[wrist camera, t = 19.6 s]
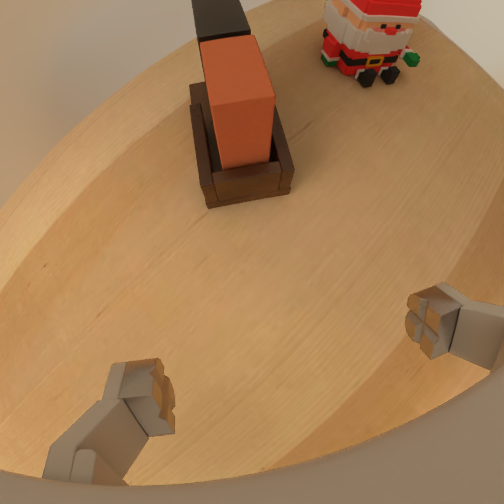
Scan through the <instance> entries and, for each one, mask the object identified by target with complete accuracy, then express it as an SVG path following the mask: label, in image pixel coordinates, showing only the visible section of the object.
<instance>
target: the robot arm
mask: <svg viewBox="0 0 504 504" xmlns="http://www.w3.org/2000/svg"><path fill="white" fill-rule="evenodd" d="M407 306H408V308H409V309H410V310H409V312H408V313H407V315H406V317H405V328H406V332H407V334H408V336H409V337H410V338H411V340H412V341H414V342H417V343H420V349H421V350H422V351H423V352H424V354H425V355H426V356H427V357H428V358H429V359H430V360H432V359H434V358H436V357H438V356H441V355H443V354H445V353H447V352H449V353H451V354H453V355H455V356H458V357H460V358H462V359H465V360H467V361H469V362H472V363H474V364H476V365H479V366H481V367H483V368H486V369H488V370H490V373H489V375H488V376H487V377H485V378H484V379H482V380H481V381H479V382H478V383H476V384H475V385H473V386H472V387H470V388H468V389H467V390H465V391H464V392H462V393H460V394H459V395H457V396H455V397H454V398H452V399H450V400H449V401H447V402H445V403H443V404H442V405H440V406H438V407H436V408H434V409H432V410H431V411H429V412H427V413H425V414H423V415H421V416H419V417H417V418H415V419H413V420H411V421H409V422H407V423H405V424H403V425H401V426H398V427H396V428H394V429H392V430H390V431H387V432H385V433H383V434H380V435H378V436H376V437H373V438H371V439H368V440H366V441H363V442H361V443H358V444H356V445H353V446H350V447H347V448H345V449H342V450H339V451H336V452H333V453H330V454H327V455H324V456H321V457H317V458H314V459H311V460H307V461H304V462H300V463H297V464H293V465H289V466H285V467H281V468H277V469H273V470H268V471H264V472H259V473H254V474H249V475H244V476H238V477H232V478H226V479H220V480H212V481H204V482H195V483H185V484H172V485H151V486H129V485H128V484H127V483H126V482H125V481H124V480H123V477H124V476H125V474H126V473H127V471H128V470H129V468H130V467H131V465H132V464H133V462H134V461H135V459H136V458H137V456H138V455H139V453H140V451H141V450H142V448H143V447H144V445H145V444H146V442H147V441H148V439H149V438H148V437H154V436H162V435H170V434H175V416H174V414H173V412H172V409H173V408H174V407H175V395H174V390H173V387H172V383H171V381H170V379H169V378H168V377H167V376H165V375H164V366H163V364H162V362H161V359H159V358H153V359H145V360H137V361H128V362H121V363H114V364H113V365H112V366H111V368H110V372H109V375H108V379H107V383H106V386H105V390H104V394H103V398H102V400H101V401H97V402H96V403H95V404H94V405H93V406H92V407H91V408H90V409H89V410H88V411H87V412H85V413H84V414H83V415H82V416H81V417H80V418H79V419H78V420H77V421H76V422H75V423H74V424H73V425H72V426H71V427H70V428H69V429H68V430H67V431H66V432H65V433H64V434H63V435H62V436H61V437H60V438H58V439H57V440H56V441H55V442H54V443H53V444H52V445H51V446H50V450H49V453H48V457H47V460H46V464H45V468H44V472H43V476H42V478H37V477H32V476H27V475H22V474H17V473H13V472H9V471H5V470H1V469H0V504H504V307H503V306H499V305H494V304H490V303H485V302H481V301H476V300H475V301H471V300H470V299H469V298H467V297H466V296H464V295H463V294H462V293H460V292H459V291H458V290H456V289H455V288H453V287H452V286H450V285H449V284H448V283H445V282H441V283H439V284H436V285H434V286H432V287H430V288H427V289H424V290H422V291H419V292H416V293H413V294H411V295H410V296H409V298H408V301H407Z"/></svg>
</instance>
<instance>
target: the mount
mask: <svg viewBox="0 0 504 504" xmlns="http://www.w3.org/2000/svg"><path fill="white" fill-rule="evenodd" d="M192 8H193V14H194V20H195V27H196V34H197V40H198V45H199V50H200V56H201V61H202V55H201V49H200V43H201V42H205V41H211V40H216V39H223V38H230V37H237V36H245V35H251V29H250V27H249V24H248V21H247V19H246V16H245V14H244V11H243V8H242V6H241V3H240V1H239V0H192ZM202 67H203V61H202ZM203 72H204V67H203ZM204 77H205V73H204ZM189 88H190V96H191V104H192V105H190V114H191V122H192V129H193V137H194V144H195V151H196V158H197V165H198V172H199V179H200V186H201V189H202V191H203V194H204V196H205V201H206V205H207V208H208V209H210V208H215V207H220V206H225V205H230V204H236V203H241V202H246V201H252V200H257V199H263V198H268V197H274V196H280V195H285V194H289V193H290V189H291V188H290V184H291V181H292V177H293V174H294V170H295V169H294V166H293V162H292V159H291V155H290V152H289V148H288V145H287V142H286V138H285V135H284V132H283V128H282V125H281V122H280V119H279V115H278V112H277V109H276V106H274V116H273V126H272V136H271V147H270V157H269V163H264V164H258V165H253V166H247V167H241V168H236V169H230V170H225V171H223V169H222V164H221V159H220V154H219V149H218V144H217V139H216V134H215V129H214V124H213V119H212V114H211V108H210V103H209V97H208V91H207V85H206V79H205V82H200V83H195V84H190V85H189Z"/></svg>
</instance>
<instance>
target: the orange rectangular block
mask: <svg viewBox="0 0 504 504" xmlns="http://www.w3.org/2000/svg"><path fill="white" fill-rule="evenodd" d="M200 49H201V55H202V61H203V67H204V73H205V79H206V85H207V91H208V97H209V103H210V108H211V114H212V119H213V124H214V129H215V134H216V139H217V144H218V149H219V154H220V159H221V164H222V169H223V171H225V170H230V169H236V168H241V167H247V166H253V165H258V164H264V163H269V157H270V147H271V136H272V126H273V116H274V106H275V93H274V90H273V87H272V84H271V81H270V78H269V75H268V72H267V69H266V66H265V63H264V60H263V58H262V55H261V52H260V49H259V47H258V44H257V41H256V38H255V36H254V35H245V36H237V37H230V38H223V39H216V40H211V41H205V42H201V43H200Z"/></svg>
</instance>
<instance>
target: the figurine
mask: <svg viewBox="0 0 504 504" xmlns="http://www.w3.org/2000/svg"><path fill="white" fill-rule="evenodd" d="M421 2H422V1H421V0H328V1H326V4H325V9H324V14H323V20H324V21H325V22H326V23H327V24H328V26H327V29H324V32H323V37H324V43H323V49H321V53H322V56H321V59H322V60H323V61H324V63H325V64H326V65H327V67H328V66H335V65H337V66H338V67H339V69H340V70H341V72H342V73H343V74H345V75H355V79H356V80H357V79H358V81H359V82H360V84H361V85H362V86H363V87H370V86H372V84H373V82H374V80H375V77H376V75H377V73H376V72H378V76H379V77H380V76H381V78H382V79H383V80H384V82H385V83H386V84H393V83H394V82H395V80H396V78H397V76H398V75H399V73H400V71H399V69H398V68H397V67H396V66H393V67H391V65H392V63H393V62H396V60H397V58H398V55H399V57H400V59H403V60H404V61H405V62H406V64H407V65H408V66H409V67H416V66H417V64H418V63H419V61H420V60H419V58H420V56H419V55H418V54H417V53H413V52H414V51H413V50H412V49H409V48H408V46H407V43H408V41H409V39H410V37H411V35H412V33H413V30H412V29H411V28H412V26H413V24H414V23H417V24H418V22H419V20H420V17H419V16H418V13H419V11H420V9H421V5H420V4H421ZM397 54H398V55H397Z"/></svg>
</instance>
